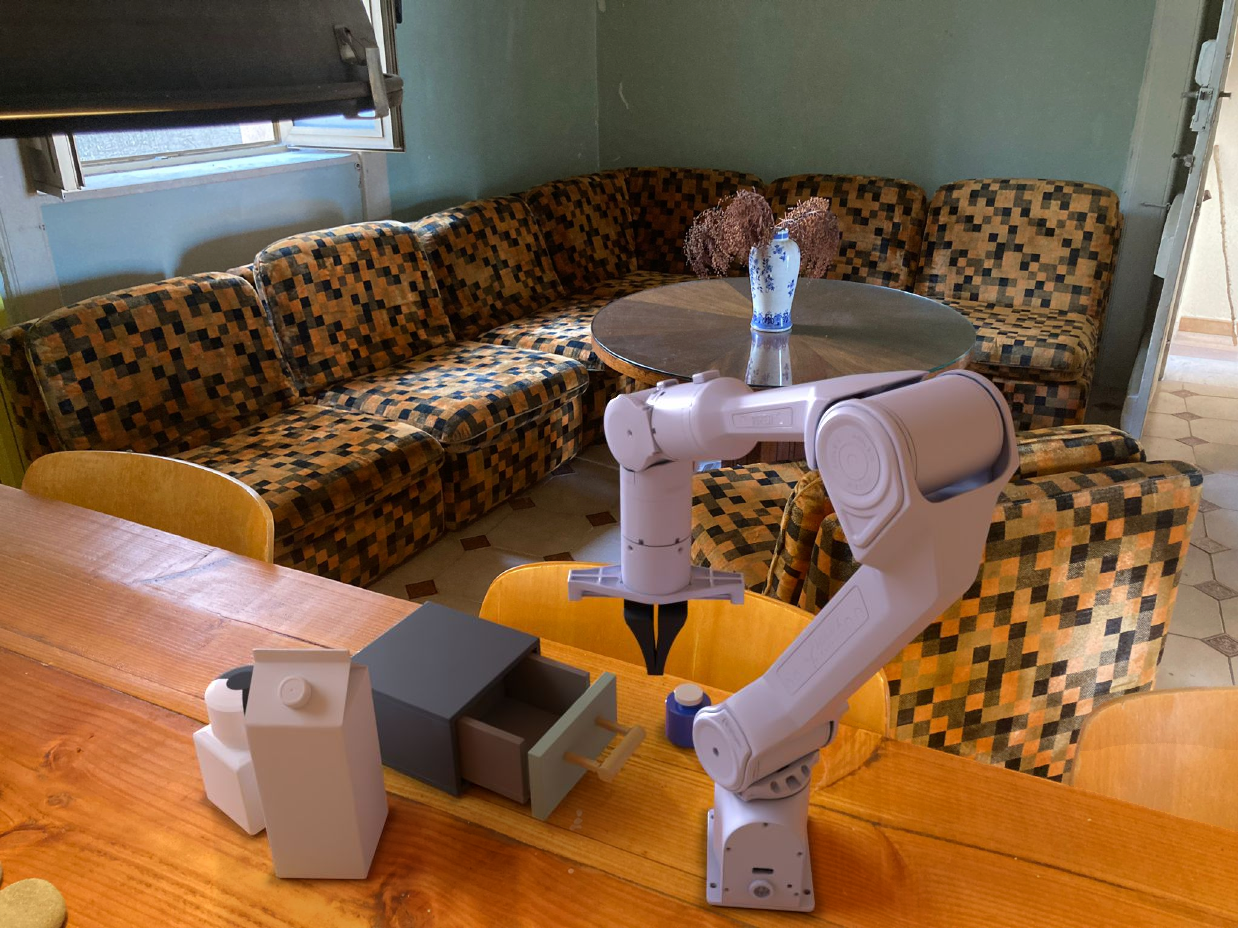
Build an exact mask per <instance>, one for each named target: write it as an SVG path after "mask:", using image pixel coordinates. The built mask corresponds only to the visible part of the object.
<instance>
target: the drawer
mask: <svg viewBox="0 0 1238 928" xmlns="http://www.w3.org/2000/svg"><path fill="white" fill-rule="evenodd" d="M617 690H618V689H617V674H614V673H611V672H608V671H606V670H605V671H603V673H602V674H601V675H600V676H599V677H598V678H597V679H596V680H595V681H594V682H593V683H592V684H591V672H590V671H588V670H585V669H582V668H579V667H576V666H573V665H570V664H567V663H564V662H561V661H558V660H555V659H553V658H549V657H547V656H544V655H542V654H541V655H538V654H535V653H532V652H530V653H529V654H528V655H527V656H526V657H525V658H524V659H522V660H521V661H520V662H519V663H518V664H517V665H516V666H515V667H514V668H513V669H512V670H510V671H509V672H508V673H507V674H506V675H505V676H504V677H503V678H502V679H501V680H499V681H498V682H497V683H496V684H495V685H494V686H493V687H492V688H491V689H490V690H489V691H487V692H486V693H485V694H484V695H483V696H482V697H481V698H480V699H479V700H478V701H476V702H475V703H474V704H473V705H472V706H471V707H470V708H469V709H468V710H467V711H466V712H464V713H463V714H462V715H461V716H460V717H459V718H458V719H457V720H456V721H455V727H456V737H457V747H458V757H459V766H460V776H461V778H464V779H466V780H468V781H471V782H472V784H476V785H479V786H480V787H482V788H485V789H487V790H490V791H492V792H494V793H497V794H499V795H502V796H504V797H506V798H508V799H511V800H513V801H515V802H518V803H520V804H522V805H525V804H526V802H527V801H528V800H529V799H530V804H531V805H530V807H531V817H532V818H534V819H537V820H539V821H542V822H545V821H546V820H547V819H548V817H550V815H551V814H552V812H554V810H555V809H556V808H557V807H558V806H559V805H560V803H561V802H562V801H563V800H564V799H565V798H566V796H567V795H568V794H569V793H570V791H572V790H573V788H574V787H575V786H576V785H577V784H578V782H579V781H580V780H581V778H582V777H583V776H584V775H585V774H586V772H587V771H588V770H589V771H592V772H594V773H597V777H598V778H599V779H600V780H601V781H603V782H604V783H610V782H612V781H613V779H614V778H615V777H616V775H617V774H618V773H619V772H620V771H621V769H622V768H623V767H624V766H625V765H626V763H627V762H628V761H629V760H630V758H631V757H632V755H633V754H634V753H635V752H636V751H637V750H638V749H639V747H640V746H641V744H642V743H643V742H644V741H645V740H646V738H647V736H648V735H647V731H646V729H645V728H644V727H643V726H641V725H640V724H639V725H638V724H635V725H634V726H632V727H629V726H626V725H625V724H621V723H618V693H617V692H618V691H617ZM618 735H621V736H624V737H623V738H622V739H621V740H620V742H619V743H618V744H617V746H615V747H614V749H613V750H612V751H611V753H610V754H609V755H608V756H607V758H606V759H605V760H604V761H603V762H602V763H601V762H599V761H597V759H598V758H599V757H600V756H601V755H602V754H603V753H604V751H605V750H606V749H607V747H608V746H609V745H610V744H611V743H612V742H613V741H614V739H615V738H616V737H617V736H618Z"/></svg>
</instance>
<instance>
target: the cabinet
mask: <svg viewBox="0 0 1238 928" xmlns="http://www.w3.org/2000/svg"><path fill="white" fill-rule="evenodd" d="M541 648H542V647H541V637H540V636H537V635H534V634H531V633H528V632H525V631H522V630H519V629H516V628H512V627H509V626H506V625H503V624H500V623H498V622H494V621H491V620H488V619H485V618H482V617H480V616H475V615H474V614H470V613H467V612H464V611H461V610H458V609H454V608H452V607H448V606H445V605H443V604H440V603H436V602H434V601H430V600H426V602H424V603H423V604H421V605H420V606H419V607H417V608H416V609H415V610H413V611H412V612H410V613H409V614H408V615H407V616H405V617H403V618H402V619H401V620H399V621H398V622H397V623H395V624H394V625H393V626H391V627H390V628H389V629H387V630H386V631H385V632H383V633H382V634H380V635H379V636H378V637H376V638H375V639H373V640H372V641H371V642H370V643H368V644H367V645H366V646H364V647H362V648H361V649H360V650H359V651H357V652H356V653H354V654H353V655H352V656H350V657H351V662H355V663H358V664H361V665H365V666H368V670H369V677H370V684H371V691H372V698H373V705H374V712H375V719H376V726H377V733H378V740H379V747H380V754H381V761H382V766H383V767H384V766H385V767H386V768H388V769H391V770H394V771H396V772H398V773H400V774H402V775H405V776H407V777H409V778H412V779H414V780H416V781H419V782H421V783H423V784H425V785H428V786H430V787H431V788H432V787H433V788H434V789H436V790H439V791H441V792H443V793H445V794H448V795H451V796H453V797H455V798H459V797H460V796H461V795H462V794H463V793H464V792H465V791H466V790H467V789H468V788H469V787H470V786H471V785H472V784H473V782H471V781H468V780H466V779H464V778H461V776H460V766H459V757H458V747H457V737H456V727H455V721H456V720H457V719H458V718H459V717H460V716H461V715H462V714H463V713H464V712H466V711H467V710H468V709H469V708H470V707H471V706H472V705H473V704H474V703H475V702H476V701H478V700H479V699H480V698H481V697H482V696H483V695H484V694H485V693H486V692H487V691H489V690H490V689H491V688H492V687H493V686H494V685H495V684H496V683H497V682H498V681H499V680H501V679H502V678H503V677H504V676H505V675H506V674H507V673H508V672H509V671H510V670H512V669H513V668H514V667H515V666H516V665H517V664H518V663H519V662H520V661H521V660H522V659H524V658H525V657H526V656H527V655H528V654H529V653H530V652H532V653H535V654H538V655H541V656H542V650H541Z"/></svg>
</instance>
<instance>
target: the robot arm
mask: <svg viewBox="0 0 1238 928" xmlns="http://www.w3.org/2000/svg"><path fill="white" fill-rule="evenodd" d="M929 375H930V371H928V370H916V369H915V370H914V369H912V370H910V369H909V370H900V371H899V370H896V371H886V372H885V371H884V372H874V373H873V372H872V373H871V372H870V373H859V374H849V375H843V376H838V377H832V378H827V379H821V380H816V381H815V380H814V381H810V382H804V383H803V382H802V383H799V384H798V383H797V384H793V385H787V386H781V387H775V388H770V389H769V388H768V389H764V390H760V391H754V389H752V387H751V386H750V385H749V384H748V383H746V382H744V381H743V380H741V379H739V378H736V377H730V376H724V377H721V373H720V370H718V369H712V370H706V371H703V372H698V373H695V374H692V381H691V382H686V383H685V382H683V383H679V380H678V379H677V378H670V379H666V380H662V381H658V382H657V383H656V386H655V387H652V388H647V389H643V390H639V391H636V392H632V393H621V394H618V396H617V397H615V398H613V399H611V400H610V401H609V402H608V403H607V405H606V407H605V411H604V415H603V428H604V435H605V438H606V442H607V446H608V448H609V450H610V452H611V454H612V456H613V457H614V459H615V460H616V461H617V463H618V464H619V476H620V477H619V484H620V485H619V486H620V487H619V488H620V489H619V490H620V491H619V492H620V494H619V495H620V498H619V499H620V558H621V559H620V560H621V561H620V563H615V564H609V565H603V566H597V567H590V568H589V567H588V568H580V569H579V568H578V569H577V568H575V569H569V573H568V578H567V599H568V601H569V602H580V601H582V600H583V598H611V599H612V598H614V599H617V598H619V599H622V600H623V609H622V610H623V611H622V616H623V619H624V622H625V625H626V626H627V627H628V628H629V630H630V631H631V632H632V635H633V636H634V638H635V639H636V642H637V644H638V646H639V648H640V651H641V654H642V656H643V659H644V664H645V667H646V675H647V676H655V677H656V676H658V677H660V676H661V677H663V676H664V674H665V667H666V663H667V660H668V656H669V655H670V651H671V649H672V647H673V644H674V642H675V640H676V638H677V636H678V635H679V633H680V632H681V631H682V629H683V627H685V624H686V622H687V619H688V617H689V601H691V600H702V601H703V600H705V601H706V600H707V601H709V600H710V601H730V602H729V603H730V604H731V605H735V606H736V605H740V606H742V605H743V606H744V605H745V591H746V590H745V589H746V583H745V574H744V572H733V571H726V570H720V569H716V568H710V567H704V566H700V565H696V564H692V534H693V533H692V529H693V528H692V524H693V522H692V521H693V482H694V481H693V480H694V479H693V478H694V476H696V475H697V473H698V471H700V463H701V462H708V461H709V462H710V461H734V460H738V459H741V458H743V457H745V456H746V455H748V454H749V453H750V452H751V451H752V450H753V449H754V448H755V446H756V445H757V443H758V442H787V443H788V442H792V443H793V442H796V443H797V442H800V443H801V442H802V443H803V442H804V451H805V458H806V463H807V467H808V468H809V470H811V471H812V472H818V471H819V474H820V477H821V480H822V483H823V485H824V487H825V490H826V492H827V495H828V497H829V500H830V502H831V505H832V507H833V509H834V511H835V514H836V517H837V519H838V522H839V524H840V527H841V529H842V532H843V534H844V536H845V539H846V541H847V544H848V546H849V548H850V551H851V553H852V556H853V559H854V561H856V562H857V563H858V564H861V565H860V567H859V568H858V569H857V570H856V571H855V572H854V574H853V575H852V576H850V578H849V579H848V580H847V581H846V582H845V584H844V585H843V586H842V587H841V588H840V589H839V590H838V591H837V592H836V593H835V594H834V595H833V597H832V598H831V599H830V600H829V601H827V603H826V604H825V605H824V607H823V608H822V609H821V610H820V611H819V612H818V613H817V614H816V615H815V617H814V618H813V619H812V620H811V621H809V623H808V624H807V626H806V627H805V628H804V629H802V631H801V632H800V633H799V634H798V635H797V637H795V639H794V640H793V641H792V642H791V644H789V646H788V647H786V649H785V650H784V651H783V652H782V653H781V654H780V655H779V657H778V658H777V659H776V660H775V661H774V662H773V663H772V664H771V666H770V667H769V668H768V669H767V670H766V671H765V672H764V673H763V674H762V675H760V677H758V678H756V679H755V680H754V681H752V682H750V683H749V684H747V685H746V686H744V687H742V688H741V689H740V690H738V691H737V692H735V693H733V694H732V695H731V696H729V697H727V698H725V700H723V701H721V702H719V703H716V704H714V705H711V706H707V707H704V708H702V709H701V710H699V711H698V713H697V714H696V716H695V718H694V723H693V743H694V747H693V748H694V751H695V754H696V756H697V759H698V761H699V763H700V765H701V766H702V768H703V770H704V771H705V773H706V774H707V776H709V778H710V779H711V780H712V781H713V782H714V793H713V794H714V795H713V808H710V809H709V810H708V812H707V842H706V843H707V847H706V849H707V851H706V852H707V853H706V902H707V904H709V905H711V906H717V907H718V906H720V907H733V908H748V909H763V910H766V909H767V910H776V911H777V910H778V911H792V912H805V913H811V912H813V911H815V910H814V909H815V907H816V906H815V905H816V902H815V894H814V893H815V891H814V884H813V873H812V866H811V855H810V846H809V836H808V819H809V817H808V816H809V806H810V795H811V784H812V771H813V769H814V767H815V766H816V765H817V764H818V763H820V753H821V749H822V748H826V747H828V746H830V745H832V744H833V743H834V741H835V740H836V738H837V736H838V733H839V732H838V731H839V726H840V722H841V719H842V717H843V716H844V715H845V714H846V713H847V712H848V711H849V710H850V705H849V702H848V700H849V699H850V698H851V697H852V696H853V695H854V694H856V692H858V691H859V690H860V689H861V688H862V687H863V686H864V685H865V684H867V682H869V681H870V680H871V679H872V678H873V677H874V676H875V675H876V674H877V673H879V672H880V670H881V669H883V668H884V667H885V666H886V665H887V664H888V663H890V662H891V661H892V660H893V659H894V658H895V657H896V656H897V655H898V654H900V653H901V652H902V650H904V649H905V648H906V647H907V646H908V645H909V644H910V643H912V642H913V641H914V640H915V639H916V638H917V637H918V636H919V635H920V634H921V633H923V632H924V631H925V630H926V629H927V628H928V627H929V626H930V625H932V623H933V622H935V620H937V619H938V618H939V617H941V615H942V614H943V613H944V612H946V611H947V610H948V609H949V608H950V607H951V606H952V605H953V604H954V603H955V602H956V601H958V600H959V599H960V598H961V597H962V596H963V595H964V594H965V593H967V592H968V590H970V588H971V587H972V585H974V583H975V581H976V579H977V576H978V573H979V569H980V566H981V562H982V559H983V554H984V552H985V551H984V550H985V547H986V542H987V538H988V535H989V532H990V529H991V524H992V521H993V517H994V513H995V509H996V506H997V501H998V498H999V496H1000V494H1001V493H1002V491H1003V490H1004V489H1005V487H1006V485H1007V484H1008V483H1009V482H1010V480H1011V479H1012V477H1013V475H1014V474H1015V473H1016V471H1017V470H1018V468H1019V467H1020V466H1021V459H1020V453H1019V449H1018V443H1017V437H1016V432H1015V431H1016V430H1015V426H1014V421H1013V416H1012V412H1011V409H1010V407H1009V404H1008V402H1007V400H1006V398H1005V397H1004V395H1003V393H1002V392H1001V391H1000V390H999V388H998V387H997V386H996V385H995V384H994V383H993V382H992V381H991V380H990V379H988V378H987V377H985V376H984V375H982V374H981V373H978V372H975V371H973V370H968V369H951V370H947V371H944V372H942V373H938V374H937V375H936V376H934V377H933V378H930V379H927V380H924V379H925V378H926V377H927V376H929ZM655 605H657V638H656V633H655ZM656 639H657V640H656Z"/></svg>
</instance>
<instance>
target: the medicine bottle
mask: <svg viewBox="0 0 1238 928" xmlns="http://www.w3.org/2000/svg"><path fill="white" fill-rule="evenodd" d="M253 668H254V664H246V665H241V666H237V667H234V668H232V669H229V670H227V671H224V672H223V673H221V674H220V675H218V676H216V678H214V679H213V680H212V682H210V684H209V685H208V686H207V688H206V690H205V693H204V696H203V697H204V703H205V707H206V711H207V715H208V719H209V724H208V725H205V726H204V727H202V728H200V729H199V730H197V731H195V732H193V734H192V740H193V744H194V749H195V752H196V758H197V761H198V766H199V769H200V773H201V777H202V781H203V786H204V789H205V794H206V797H207V799H208V800H209V801H210V802H211V803H212V804H213V805H215V806H216V807H217V808H218V809H219V810H220V811H222V812H223V813H224V814H225V815H226V816H227V817H228V818H230V819H231V820H232V821H233V822H234V823H236V824H237V825H238V826H239V827H240V828H241V829H243V830H244V831H245V832H246V833H247V834H248V835H249V836H255V835H257V834H258V833H260V832H261V831H262V830H265V829H266V826H265V821H264V816H263V812H262V807H261V802H260V797H259V793H258V788H257V783H256V779H255V774H254V769H253V765H252V760H251V755H250V750H249V746H248V741H247V736H246V731H245V725H244V719H245V713H246V708H247V702H248V696H249V691H250V685H251V679H252V674H253Z"/></svg>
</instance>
